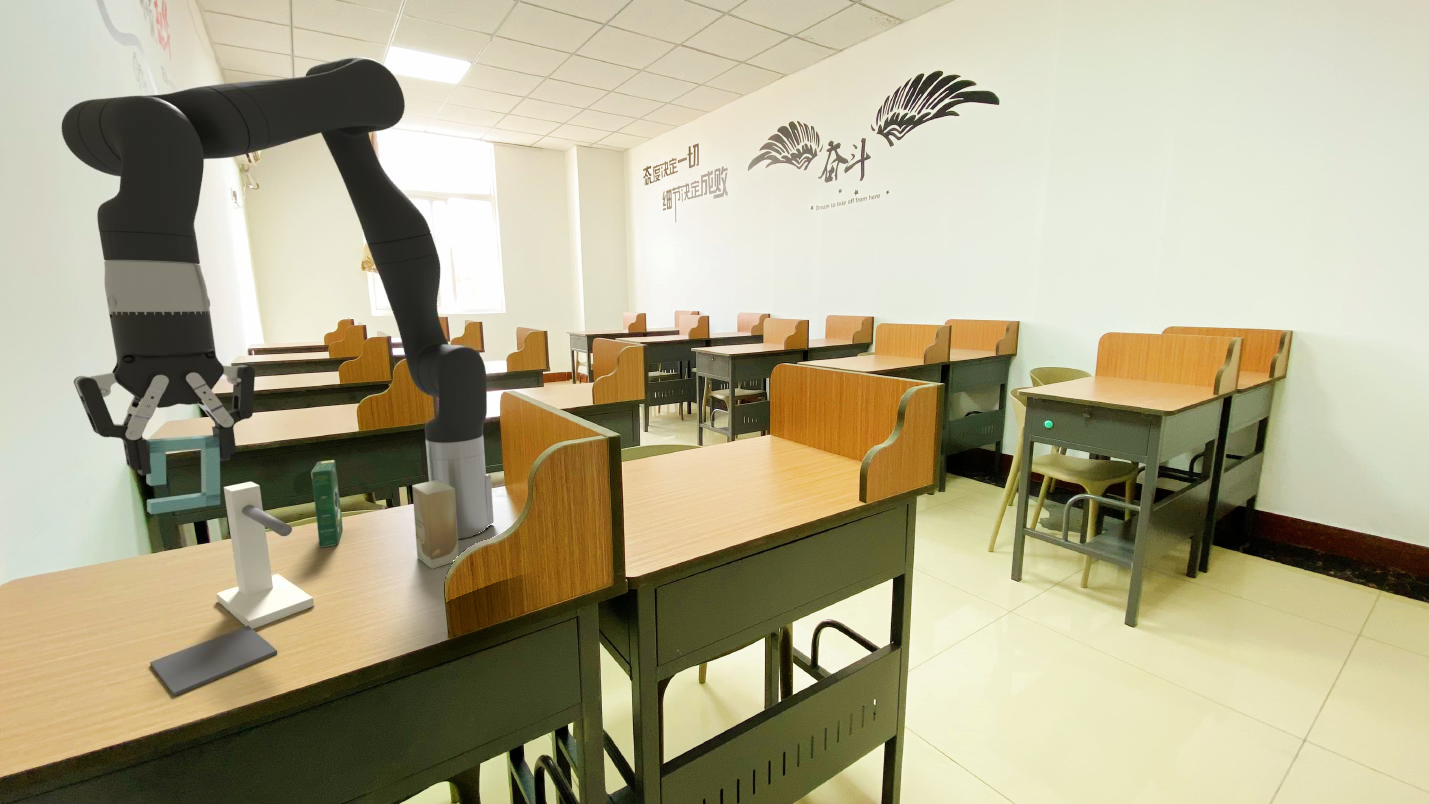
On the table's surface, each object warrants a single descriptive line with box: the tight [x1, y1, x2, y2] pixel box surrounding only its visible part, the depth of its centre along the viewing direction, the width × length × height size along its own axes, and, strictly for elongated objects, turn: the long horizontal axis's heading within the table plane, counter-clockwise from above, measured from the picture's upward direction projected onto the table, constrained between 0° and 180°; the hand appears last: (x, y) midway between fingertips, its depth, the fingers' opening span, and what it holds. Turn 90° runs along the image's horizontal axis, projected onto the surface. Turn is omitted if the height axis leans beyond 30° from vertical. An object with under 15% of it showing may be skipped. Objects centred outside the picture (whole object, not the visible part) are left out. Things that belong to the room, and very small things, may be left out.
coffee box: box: [310, 459, 344, 548], centre depth 98 cm, size 8×3×13 cm, turn 28°
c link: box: [145, 434, 221, 515], centre depth 62 cm, size 6×2×8 cm, turn 146°
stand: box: [216, 481, 315, 630], centre depth 75 cm, size 7×16×16 cm, turn 55°
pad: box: [149, 626, 278, 697], centre depth 66 cm, size 9×9×1 cm
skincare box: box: [411, 480, 460, 570], centre depth 90 cm, size 6×4×12 cm
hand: (185, 465), depth 62 cm, fingers closed on c link, 6 cm apart
